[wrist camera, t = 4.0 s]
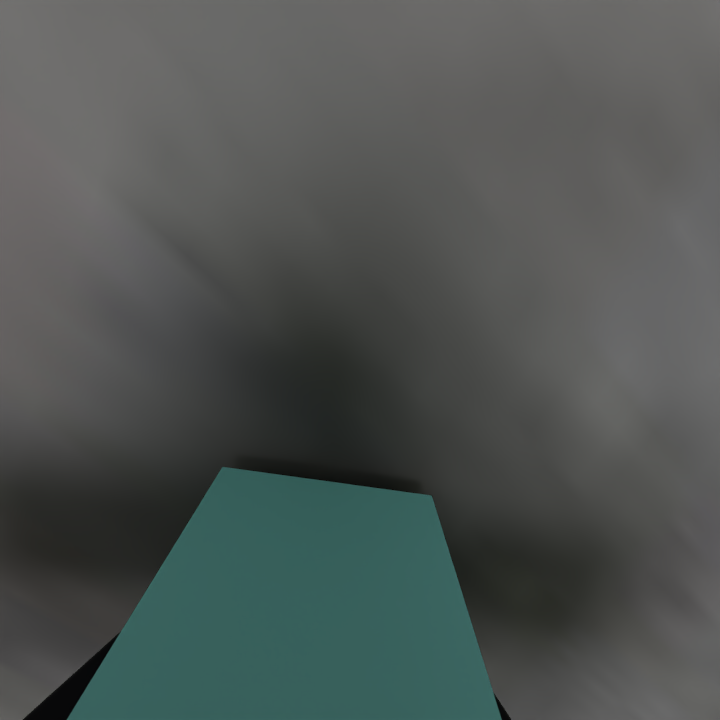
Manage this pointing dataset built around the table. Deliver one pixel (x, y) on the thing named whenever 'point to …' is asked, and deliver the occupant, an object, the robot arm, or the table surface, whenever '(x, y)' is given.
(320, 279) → the table surface
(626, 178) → the table surface
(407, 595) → the teal cube
